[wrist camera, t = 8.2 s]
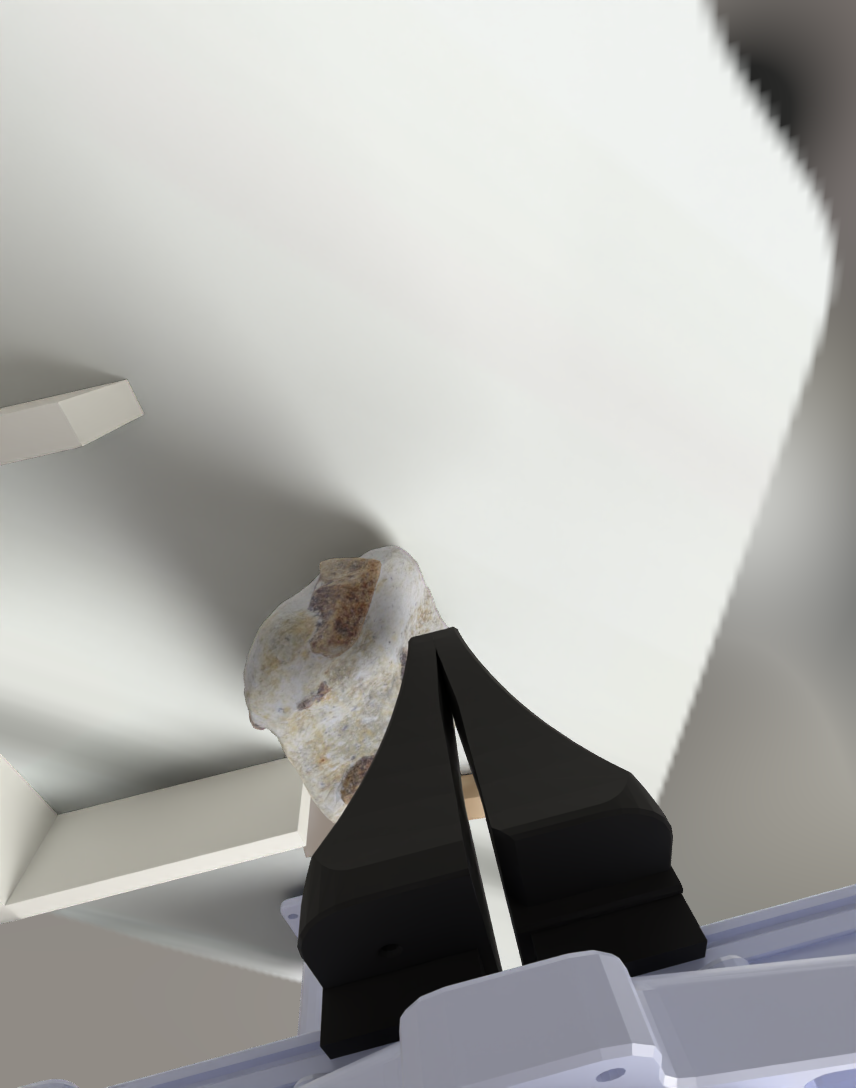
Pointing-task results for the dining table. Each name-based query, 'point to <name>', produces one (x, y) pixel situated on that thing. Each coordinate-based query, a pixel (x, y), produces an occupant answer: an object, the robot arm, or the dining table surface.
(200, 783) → the bin
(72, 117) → the dining table surface
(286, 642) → the stone
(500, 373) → the dining table surface
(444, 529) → the dining table surface
